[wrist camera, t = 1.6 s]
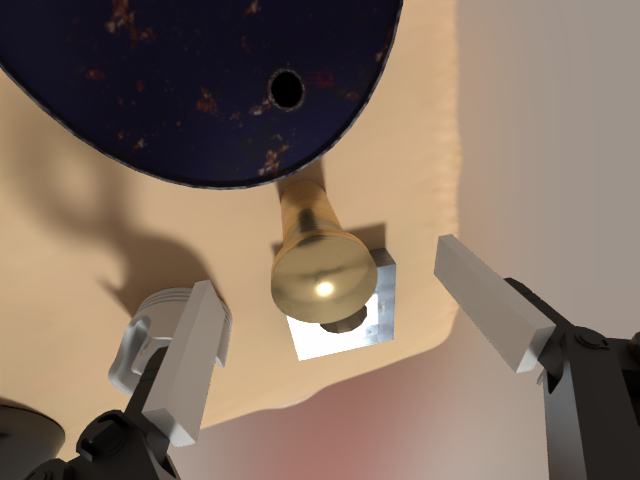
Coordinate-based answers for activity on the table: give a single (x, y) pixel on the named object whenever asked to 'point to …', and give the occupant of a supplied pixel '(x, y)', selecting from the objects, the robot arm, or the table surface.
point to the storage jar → (201, 79)
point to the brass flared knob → (319, 261)
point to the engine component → (156, 336)
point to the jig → (353, 319)
